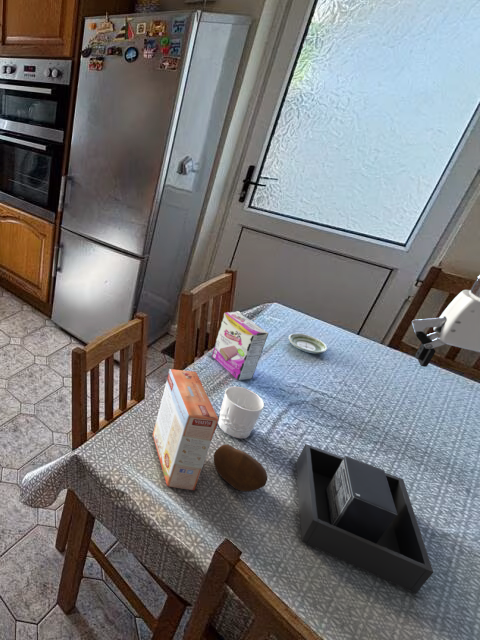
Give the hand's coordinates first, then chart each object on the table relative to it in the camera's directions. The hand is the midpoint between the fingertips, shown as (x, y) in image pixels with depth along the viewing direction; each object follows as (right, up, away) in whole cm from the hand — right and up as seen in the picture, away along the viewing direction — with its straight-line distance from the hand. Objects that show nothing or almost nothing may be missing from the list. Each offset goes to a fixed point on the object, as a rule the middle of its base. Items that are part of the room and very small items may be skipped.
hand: (456, 371), depth 78 cm
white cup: (-27, -21, +23) cm, 42 cm away
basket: (-18, -30, +3) cm, 36 cm away
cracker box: (-46, -25, +15) cm, 55 cm away
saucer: (+13, -7, +51) cm, 53 cm away
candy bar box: (-15, -11, +43) cm, 47 cm away
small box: (-18, -30, +3) cm, 35 cm away
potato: (-35, -27, +11) cm, 46 cm away
